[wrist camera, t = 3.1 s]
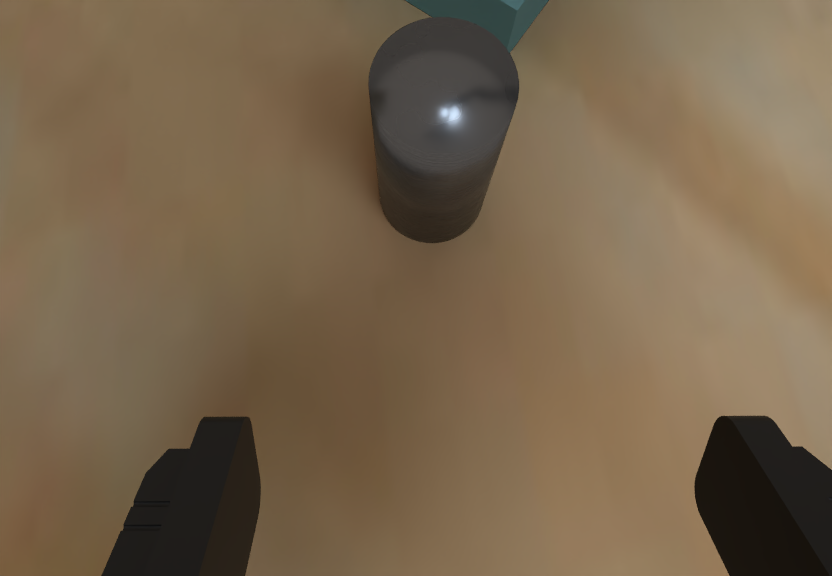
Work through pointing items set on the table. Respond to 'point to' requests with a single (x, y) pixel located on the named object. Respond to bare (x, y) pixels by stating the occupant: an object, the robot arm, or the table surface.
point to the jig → (488, 15)
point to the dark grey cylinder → (439, 123)
